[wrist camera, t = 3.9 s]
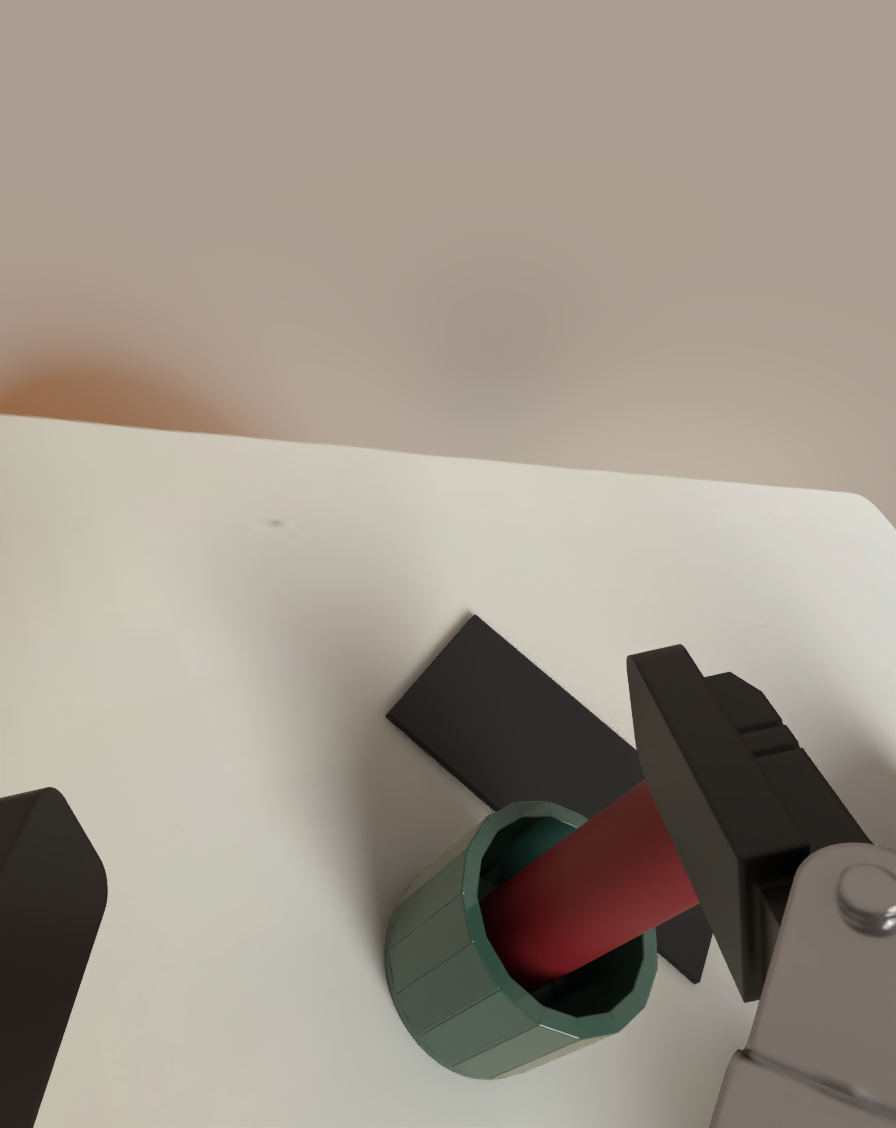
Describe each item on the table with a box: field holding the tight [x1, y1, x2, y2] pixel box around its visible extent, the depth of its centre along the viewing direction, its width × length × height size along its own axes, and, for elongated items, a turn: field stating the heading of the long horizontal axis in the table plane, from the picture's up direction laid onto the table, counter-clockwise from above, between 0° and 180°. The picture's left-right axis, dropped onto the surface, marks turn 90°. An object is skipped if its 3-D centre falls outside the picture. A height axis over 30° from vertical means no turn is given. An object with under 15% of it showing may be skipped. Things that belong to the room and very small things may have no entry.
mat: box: [386, 615, 713, 984], centre depth 44 cm, size 20×10×1 cm, turn 57°
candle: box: [479, 779, 700, 994], centre depth 30 cm, size 4×4×16 cm
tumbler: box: [385, 801, 658, 1080], centre depth 33 cm, size 9×9×7 cm
